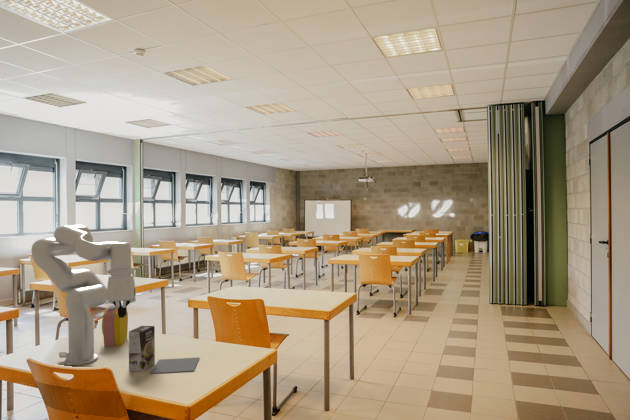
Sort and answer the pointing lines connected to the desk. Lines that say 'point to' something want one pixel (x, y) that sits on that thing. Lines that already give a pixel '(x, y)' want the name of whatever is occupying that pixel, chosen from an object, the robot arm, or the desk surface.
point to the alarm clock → (114, 327)
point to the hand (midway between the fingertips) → (122, 316)
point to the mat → (175, 365)
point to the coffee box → (141, 348)
